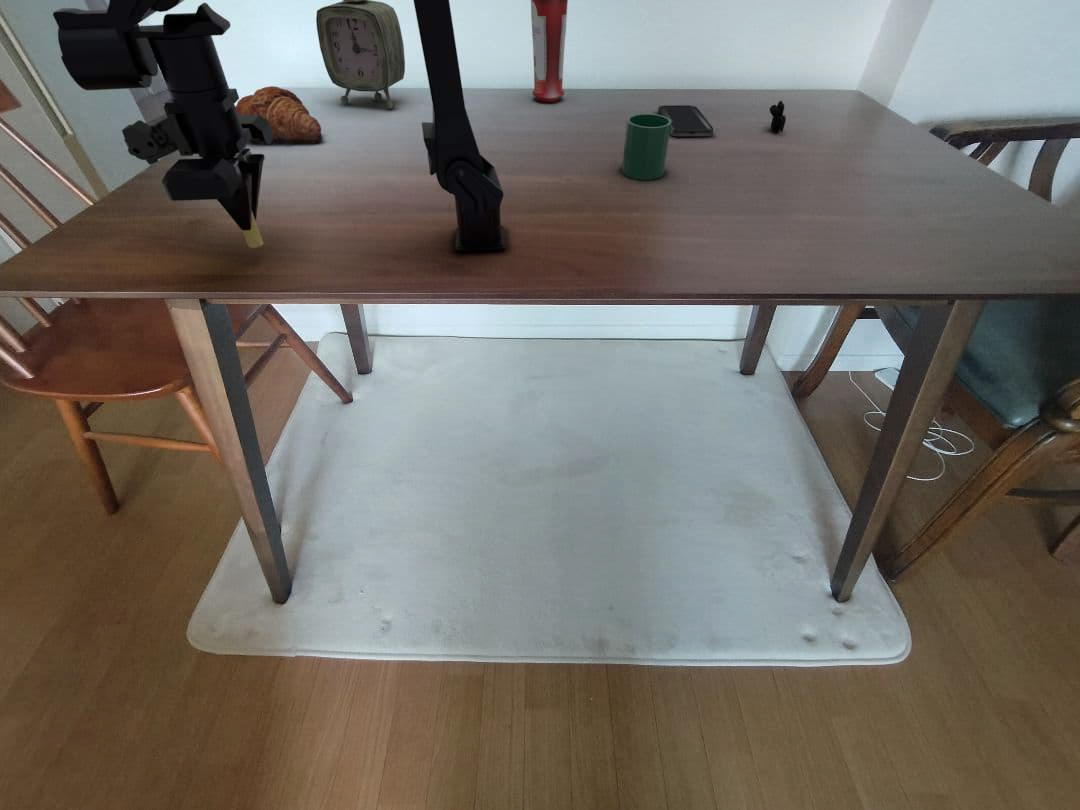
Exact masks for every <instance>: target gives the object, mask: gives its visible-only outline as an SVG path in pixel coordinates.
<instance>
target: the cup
mask: <svg viewBox="0 0 1080 810" xmlns="http://www.w3.org/2000/svg"><path fill="white" fill-rule="evenodd" d="M625 127H626V128H625V134H624V135H625V136H624V146H623V155H622V156H623V158H622V165H621V166H622V169H621V171H622V174H623V175H624V176H626V177H628V178H631V179H634V180H638V181H652V180H657V179H659V178H662V176H663V175H664V173H665V168H666V161H667V155H668V150H669V149H668V148H669V142H670V141H669V140H670V135H671V134H670V129H671V120H670V119H669V118H667V117H665V116H661V115H659V114H658V113H637V114H633V115H630V116H628V118H627V119H626V125H625Z"/></svg>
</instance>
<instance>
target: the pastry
mask: <svg viewBox="0 0 1080 810" xmlns="http://www.w3.org/2000/svg"><path fill="white" fill-rule="evenodd" d="M235 108H236V111H237V114H238V115H261V116H262V117H263V118H264V119H266V120H267V121H268V122H269V123H270V126H271V129H272V133H273V136H274V138H273V140H272V141H271V143H272V144H273V143H278V142H279V143H280V142H288V143H308V144H310V143H311V144H312V143H317V142H321V141H322V140H323V136H322V127H321V124H320V122H319V121H318V120H317V119H316V118H315V117H313V116H311V114H310V112H309V110H308V109H307V108H306V106H305V105H304V104H303V101H302V100H301V99H300V98H299V97H298V96H297V94H295V93H294V92H292V91H291V90H289V89H285V88H281V87H278V86H274V85H272V86H265V87H262V88H259V89H256V90H255V92H254V93H253V94H248V95H246V96H243V97H241V98H239V99H238V100H237V102H236V104H235ZM250 142H253V143H257V144H258V143H259V144H262V142H261V141H260V139H259V138H257V139H250ZM271 143H270V144H271Z"/></svg>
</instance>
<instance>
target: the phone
mask: <svg viewBox="0 0 1080 810" xmlns="http://www.w3.org/2000/svg"><path fill="white" fill-rule="evenodd" d="M657 115H661V116H665V117H667V118H669V119H670V120H671V129H670V135H671V136H673V137H676V138H691V137H693V138H696V137H700V138H701V137H703V138H704V137H712V136H713V132H714V127H713V126H712V125H711V123H710V122H709V121H708V119H707V118H706V117H705V116H704V115H703V113H702V112H701V110H700V109H699V108H698V107H697V106H696V105H689V104H688V105H687V104H686V105H681V104H680V105H678V104H677V105H659V106H658V108H657Z"/></svg>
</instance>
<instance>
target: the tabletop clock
mask: <svg viewBox="0 0 1080 810" xmlns="http://www.w3.org/2000/svg"><path fill="white" fill-rule="evenodd" d="M315 22H316V31H317V32H316V33H317V38H318V44H319V50H320V53H321V56H322V60H323V63H324V66H325V70H326V72H327V74H328V77H329V78H330V81H331V82H332V84H334V85H336V86H337V87H339V88H342V89H345V94H344V95H342V96H341V97H340V102H341V103H342V104H343V105H348V103H349V101H350V100H349V95H350V92H351V91H356V92H372V93H373V92H374V99H375V100H376V101H377V102H380V101H382V99H383V94H382V93H381V92H382V91H383V92H384V95H385V98H386V99H387V102H386V107H387V109H389V110H393V109H394V108H395V105H396V104H395V102H394V100H391V96H390V92H389V88H390V87H392V86H393V85H395V84H397V83H399V82H400V81H402V80H404V77H405V73H406V58H405V45H404V39H403V35H402V30H401V25H400V21H399V18H398V14H397V13H396V10H395V8H394V7H393V6H391V5H390V4H388V3H385V2H382V1H377V0H341V1H339V2H335V3H333V4H329V5H326V6H323V7H321V8H319V9H317V10H316V17H315Z"/></svg>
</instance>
